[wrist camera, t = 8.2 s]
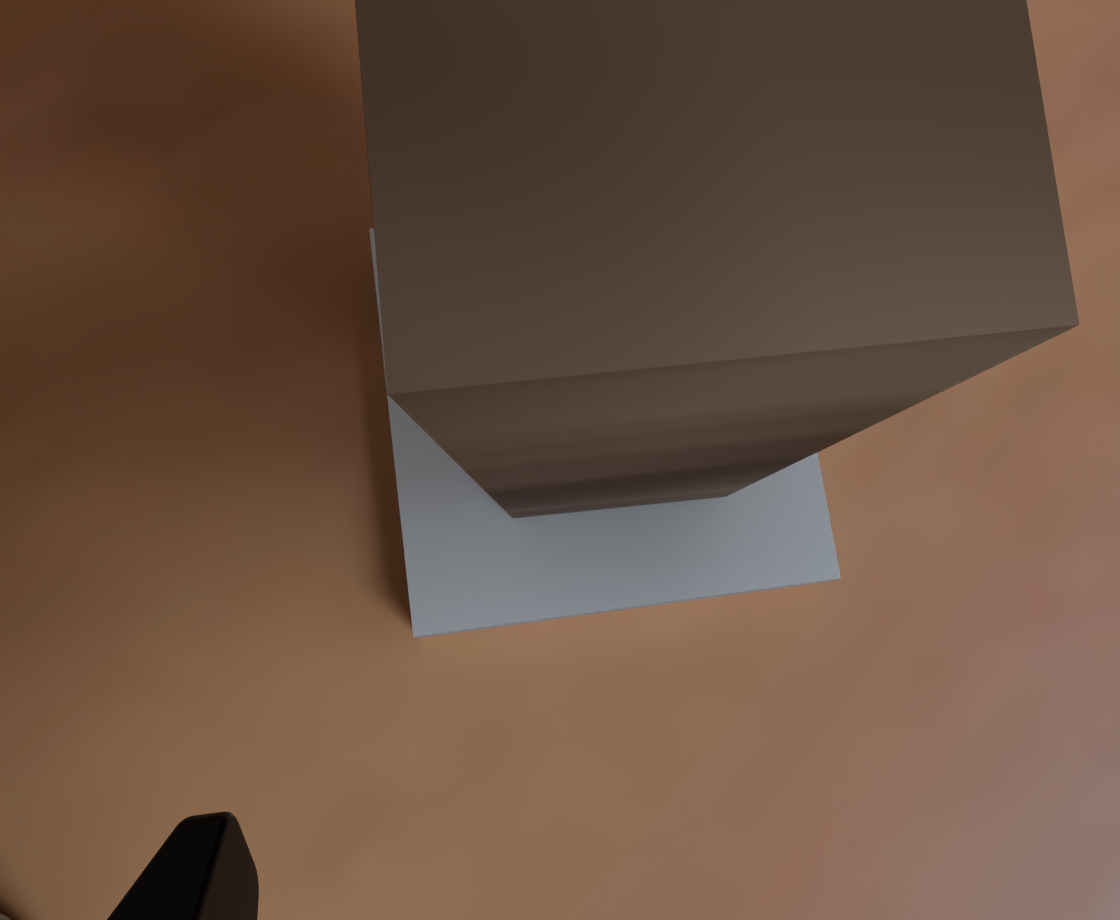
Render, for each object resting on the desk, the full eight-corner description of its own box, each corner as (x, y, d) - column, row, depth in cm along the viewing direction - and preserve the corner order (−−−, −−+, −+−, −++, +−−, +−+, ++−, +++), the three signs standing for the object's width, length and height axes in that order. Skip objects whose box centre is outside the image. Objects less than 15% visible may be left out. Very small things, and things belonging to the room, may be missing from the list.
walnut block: (725, 496, 19) (1077, 324, 6) (512, 518, 19) (387, 393, 6) (700, 289, 19) (976, -302, 6) (492, 310, 19) (335, -239, 6)
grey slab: (811, 585, 21) (840, 578, 19) (425, 637, 20) (413, 636, 18) (746, 223, 22) (767, 181, 20) (384, 266, 22) (369, 228, 20)
